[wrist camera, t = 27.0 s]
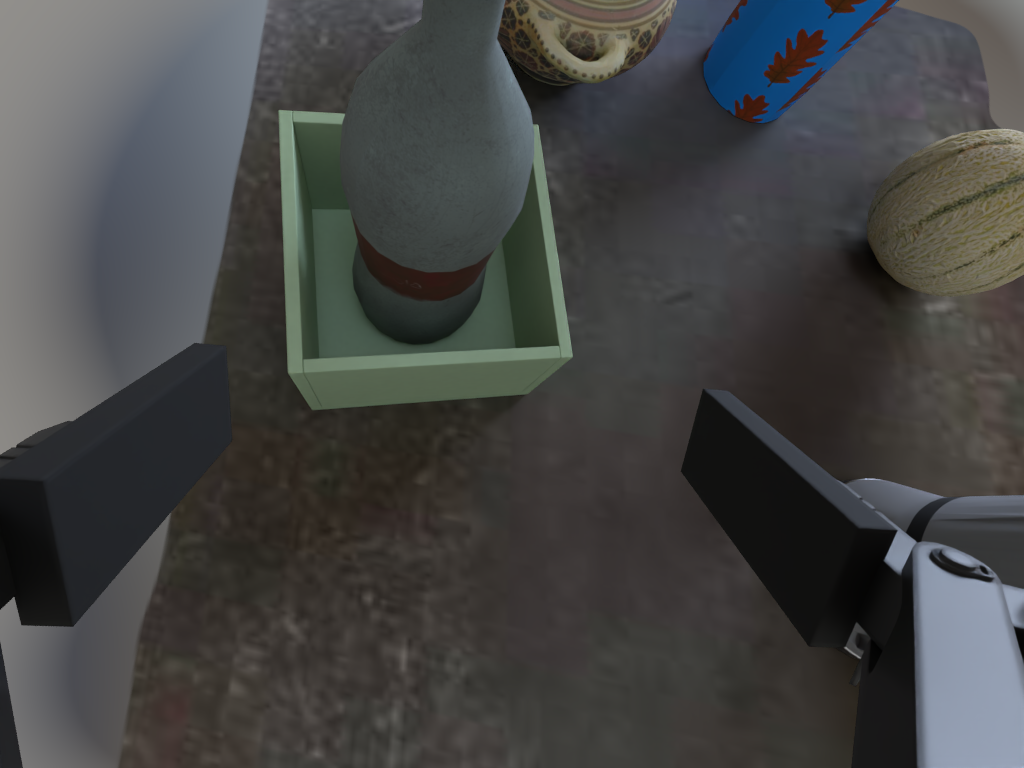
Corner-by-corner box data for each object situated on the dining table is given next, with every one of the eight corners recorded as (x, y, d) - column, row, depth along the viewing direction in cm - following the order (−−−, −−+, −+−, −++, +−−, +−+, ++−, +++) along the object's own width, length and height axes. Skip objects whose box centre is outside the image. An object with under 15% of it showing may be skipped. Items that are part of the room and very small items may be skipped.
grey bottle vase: (457, 235, 45) (590, -248, 16) (488, 338, 43) (692, 3, 15) (342, 254, 42) (261, -284, 14) (370, 365, 41) (347, 18, 12)
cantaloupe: (812, 260, 54) (965, 170, 40) (860, 164, 59) (1013, 53, 45) (925, 346, 55) (1114, 288, 41) (964, 245, 60) (1146, 161, 46)
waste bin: (503, 209, 48) (538, 124, 37) (527, 394, 44) (573, 357, 34) (302, 206, 43) (278, 109, 33) (311, 410, 40) (287, 373, 30)
